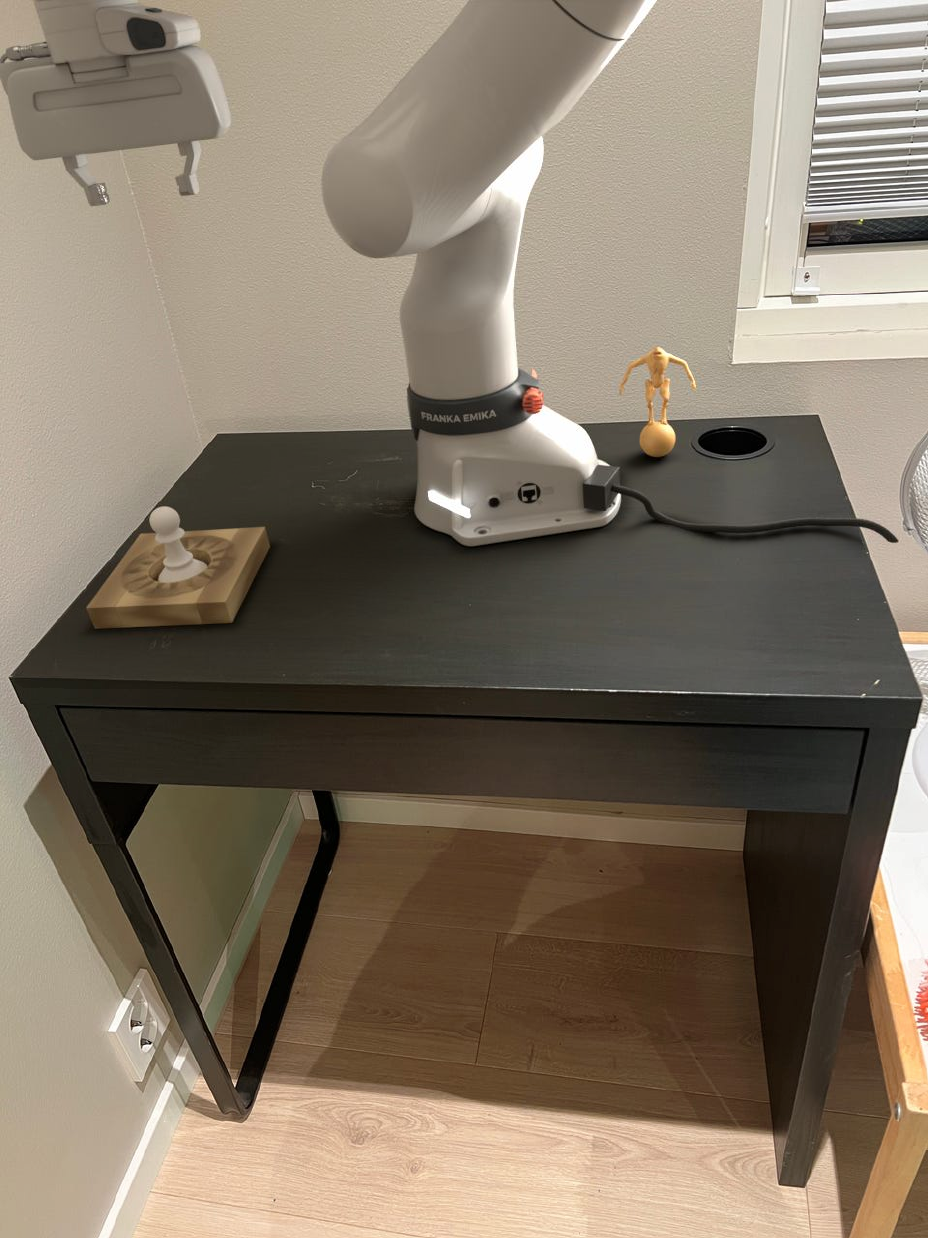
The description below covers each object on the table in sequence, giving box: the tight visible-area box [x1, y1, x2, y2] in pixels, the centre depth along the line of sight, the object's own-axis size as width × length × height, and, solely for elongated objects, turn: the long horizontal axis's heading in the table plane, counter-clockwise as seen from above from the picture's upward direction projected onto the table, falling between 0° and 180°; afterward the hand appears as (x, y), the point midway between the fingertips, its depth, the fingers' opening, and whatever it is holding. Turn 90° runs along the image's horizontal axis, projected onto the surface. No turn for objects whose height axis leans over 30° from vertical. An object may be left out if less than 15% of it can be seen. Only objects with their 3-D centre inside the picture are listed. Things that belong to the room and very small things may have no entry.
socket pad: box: [85, 526, 271, 630], centre depth 94 cm, size 14×14×2 cm
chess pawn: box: [148, 505, 207, 583], centre depth 92 cm, size 5×5×9 cm
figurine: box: [619, 346, 697, 458], centre depth 103 cm, size 8×6×12 cm
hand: (145, 199), depth 91 cm, fingers open, 8 cm apart
